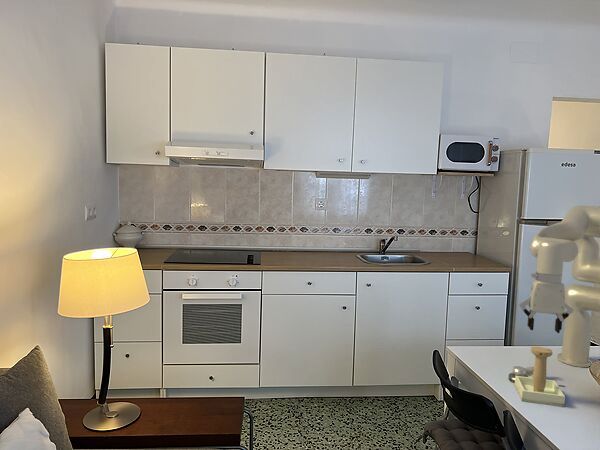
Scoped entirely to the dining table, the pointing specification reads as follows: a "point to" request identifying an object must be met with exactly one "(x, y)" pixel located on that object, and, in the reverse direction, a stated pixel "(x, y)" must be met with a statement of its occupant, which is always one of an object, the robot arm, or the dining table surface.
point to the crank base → (512, 378)
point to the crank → (523, 371)
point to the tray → (549, 396)
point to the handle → (540, 367)
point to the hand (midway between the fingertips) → (543, 330)
